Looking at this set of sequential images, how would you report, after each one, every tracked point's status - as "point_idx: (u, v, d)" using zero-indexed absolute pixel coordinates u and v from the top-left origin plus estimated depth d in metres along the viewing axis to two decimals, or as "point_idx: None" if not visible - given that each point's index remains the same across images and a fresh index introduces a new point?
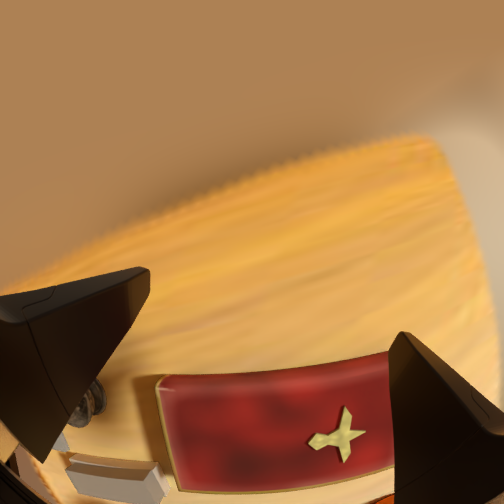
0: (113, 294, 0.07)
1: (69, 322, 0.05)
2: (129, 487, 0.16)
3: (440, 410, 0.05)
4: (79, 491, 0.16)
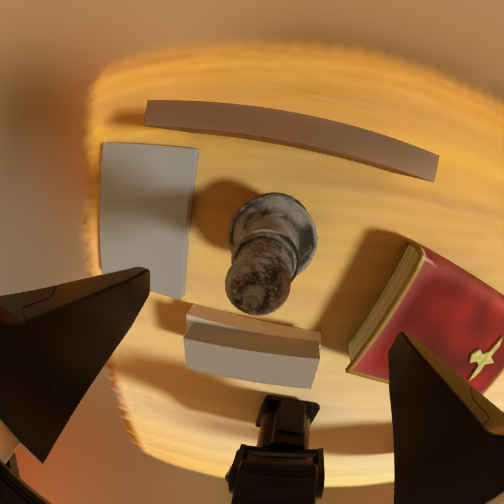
0: (113, 294, 0.07)
1: (69, 322, 0.05)
2: (290, 366, 0.20)
3: (440, 410, 0.05)
4: (190, 366, 0.22)
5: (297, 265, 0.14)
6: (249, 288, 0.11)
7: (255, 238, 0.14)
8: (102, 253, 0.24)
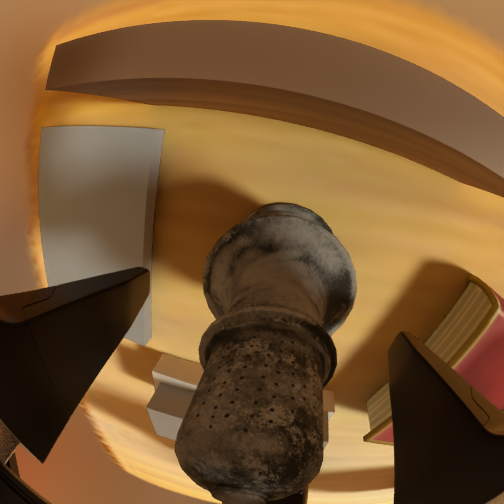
0: (113, 294, 0.07)
1: (69, 322, 0.05)
2: None
3: (440, 410, 0.05)
4: (160, 433, 0.15)
5: (330, 373, 0.06)
6: (227, 494, 0.03)
7: (246, 328, 0.06)
8: (48, 276, 0.16)
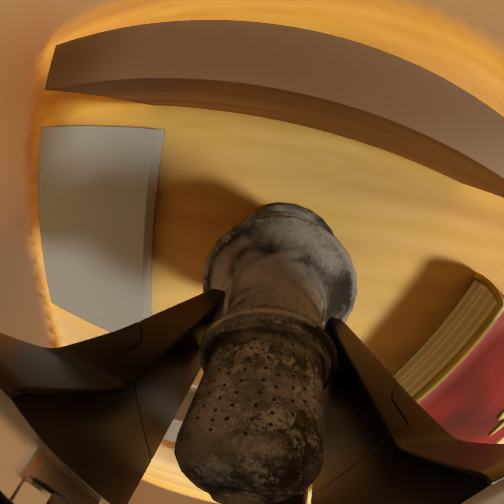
0: (203, 325, 0.07)
1: (168, 366, 0.05)
2: None
3: (351, 407, 0.05)
4: None
5: (330, 375, 0.06)
6: (227, 496, 0.03)
7: (246, 330, 0.06)
8: (48, 276, 0.16)
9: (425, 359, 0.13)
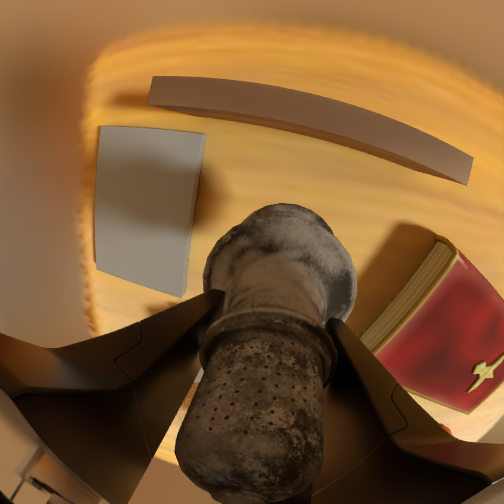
0: (203, 325, 0.07)
1: (168, 366, 0.05)
2: None
3: (351, 407, 0.05)
4: None
5: (331, 375, 0.06)
6: (227, 496, 0.03)
7: (246, 329, 0.06)
8: (97, 246, 0.22)
9: (401, 301, 0.19)
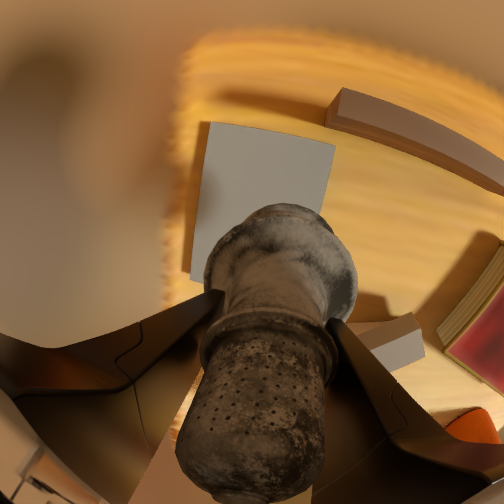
0: (203, 325, 0.07)
1: (168, 366, 0.05)
2: (398, 347, 0.19)
3: (351, 407, 0.05)
4: None
5: (332, 375, 0.06)
6: (228, 497, 0.03)
7: (247, 329, 0.06)
8: (195, 254, 0.22)
9: (475, 294, 0.19)
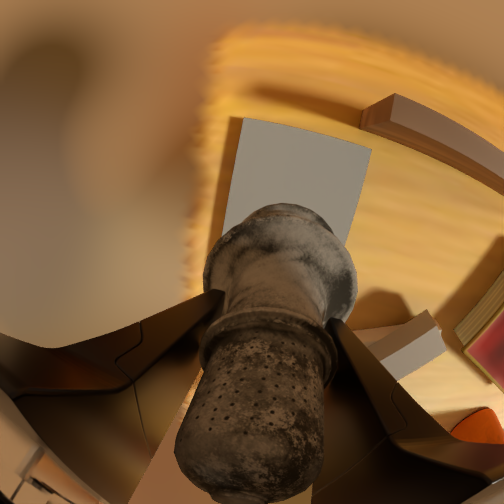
0: (203, 325, 0.07)
1: (168, 366, 0.05)
2: (418, 347, 0.18)
3: (351, 407, 0.05)
4: None
5: (331, 375, 0.06)
6: (227, 496, 0.03)
7: (246, 329, 0.06)
8: None
9: (493, 295, 0.18)
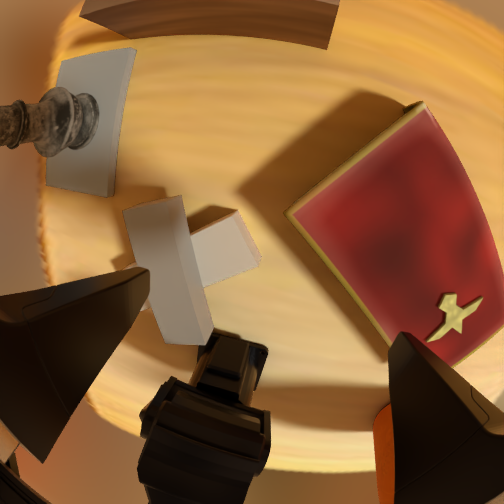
0: (113, 294, 0.07)
1: (69, 322, 0.05)
2: (141, 238, 0.18)
3: (440, 410, 0.05)
4: (199, 341, 0.20)
5: (24, 119, 0.11)
6: None
7: None
8: (47, 161, 0.20)
9: None
